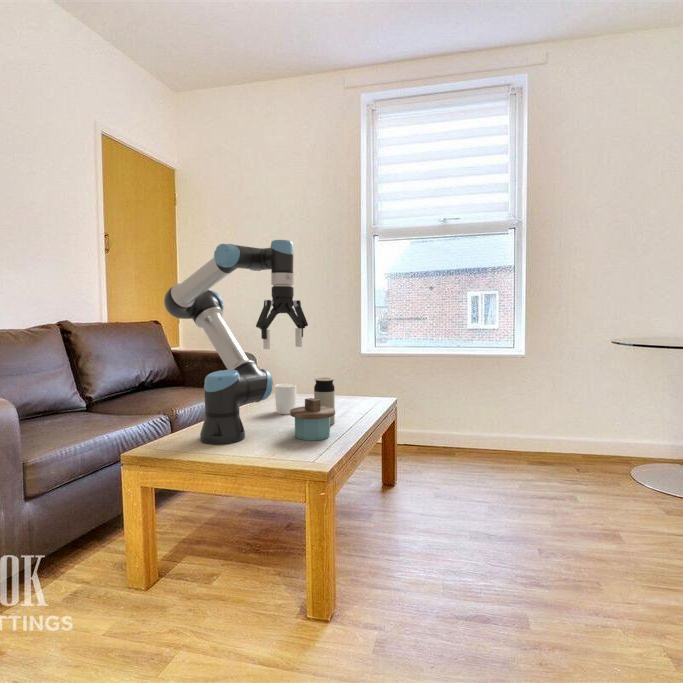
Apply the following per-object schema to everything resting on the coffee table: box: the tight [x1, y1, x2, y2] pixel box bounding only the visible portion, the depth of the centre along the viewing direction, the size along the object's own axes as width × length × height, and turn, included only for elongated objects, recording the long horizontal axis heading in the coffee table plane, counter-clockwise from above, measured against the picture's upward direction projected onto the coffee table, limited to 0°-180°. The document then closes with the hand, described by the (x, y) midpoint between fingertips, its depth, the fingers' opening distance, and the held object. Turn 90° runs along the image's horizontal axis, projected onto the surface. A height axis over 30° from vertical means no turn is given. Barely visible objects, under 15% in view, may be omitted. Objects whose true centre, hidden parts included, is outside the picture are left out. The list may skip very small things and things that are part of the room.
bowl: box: [294, 417, 331, 442], centre depth 167 cm, size 12×12×8 cm
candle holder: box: [273, 382, 298, 415], centre depth 206 cm, size 10×10×12 cm
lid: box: [289, 397, 336, 419], centre depth 167 cm, size 16×16×5 cm
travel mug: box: [313, 376, 336, 426], centre depth 185 cm, size 8×8×18 cm
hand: (283, 347), depth 163 cm, fingers open, 13 cm apart
